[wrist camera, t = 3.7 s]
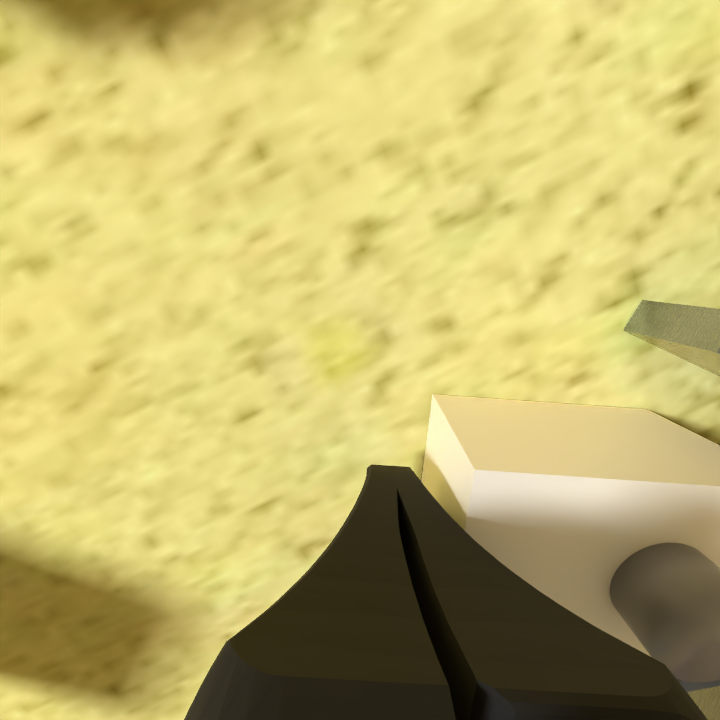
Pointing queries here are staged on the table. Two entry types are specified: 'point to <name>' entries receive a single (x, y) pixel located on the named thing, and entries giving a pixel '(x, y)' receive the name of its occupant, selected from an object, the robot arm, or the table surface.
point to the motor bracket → (710, 351)
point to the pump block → (592, 514)
